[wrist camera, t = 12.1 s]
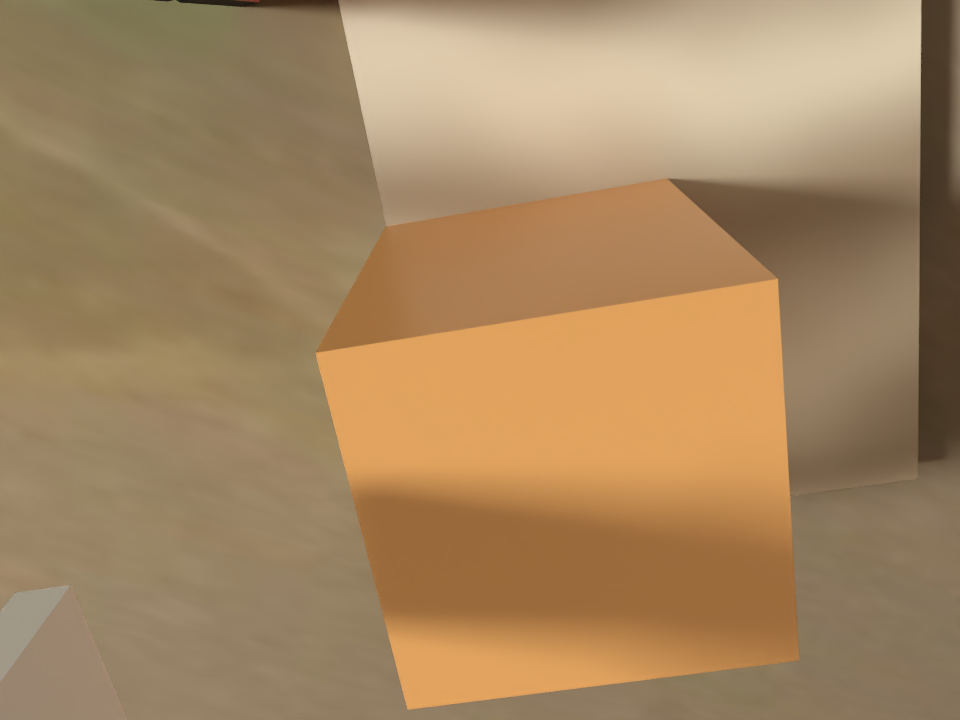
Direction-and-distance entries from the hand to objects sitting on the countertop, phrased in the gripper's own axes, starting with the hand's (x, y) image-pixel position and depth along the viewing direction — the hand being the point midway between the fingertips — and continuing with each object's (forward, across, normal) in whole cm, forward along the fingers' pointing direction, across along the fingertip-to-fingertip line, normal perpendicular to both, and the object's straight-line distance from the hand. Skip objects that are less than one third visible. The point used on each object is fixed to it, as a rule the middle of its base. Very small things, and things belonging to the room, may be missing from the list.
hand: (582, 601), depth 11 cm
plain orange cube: (+12, 0, -1) cm, 12 cm away
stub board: (+13, +3, +2) cm, 14 cm away
